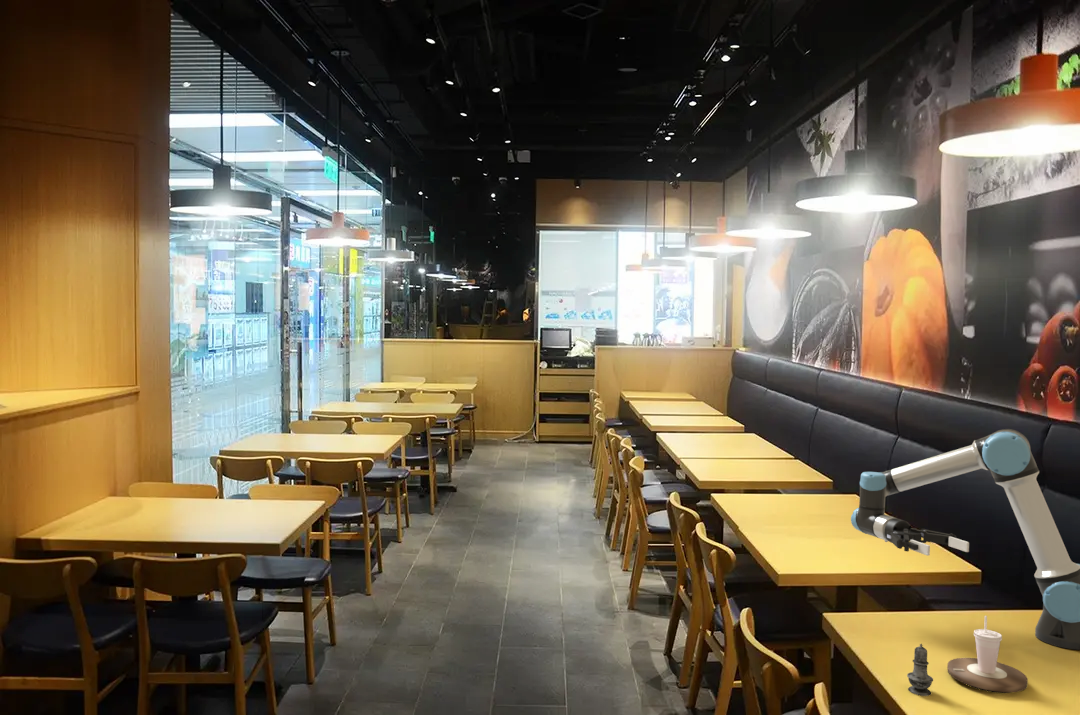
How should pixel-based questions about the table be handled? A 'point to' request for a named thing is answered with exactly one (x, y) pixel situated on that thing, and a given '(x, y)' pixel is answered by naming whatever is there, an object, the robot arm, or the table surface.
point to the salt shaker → (920, 673)
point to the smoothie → (987, 648)
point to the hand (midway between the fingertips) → (948, 548)
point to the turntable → (987, 676)
